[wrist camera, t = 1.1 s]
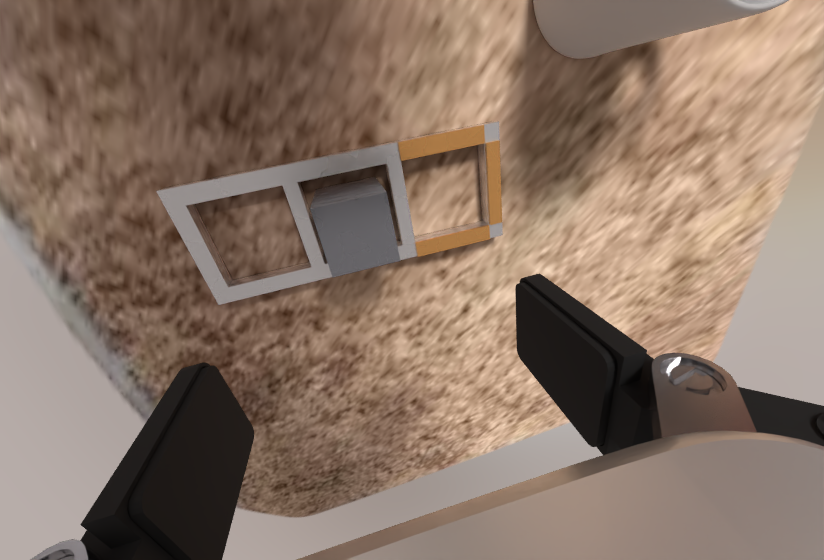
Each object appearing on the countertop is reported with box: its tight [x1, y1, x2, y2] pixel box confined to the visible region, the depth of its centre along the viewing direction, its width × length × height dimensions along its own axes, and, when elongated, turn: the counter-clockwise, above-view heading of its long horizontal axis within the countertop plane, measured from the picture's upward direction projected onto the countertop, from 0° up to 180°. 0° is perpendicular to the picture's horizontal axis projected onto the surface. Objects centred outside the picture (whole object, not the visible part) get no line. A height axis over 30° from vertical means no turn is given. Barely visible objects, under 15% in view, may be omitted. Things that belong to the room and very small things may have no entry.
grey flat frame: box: [156, 122, 503, 305], centre depth 24 cm, size 9×23×1 cm, turn 100°
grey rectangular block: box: [310, 177, 400, 277], centre depth 22 cm, size 4×4×6 cm
